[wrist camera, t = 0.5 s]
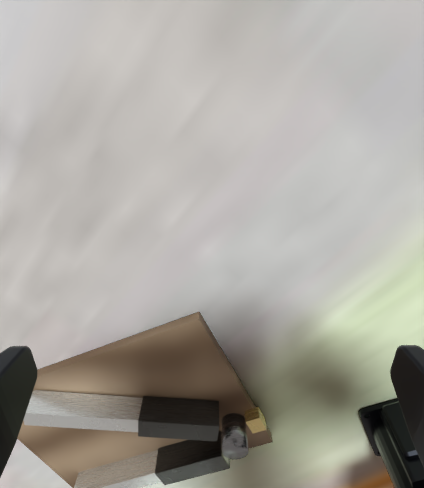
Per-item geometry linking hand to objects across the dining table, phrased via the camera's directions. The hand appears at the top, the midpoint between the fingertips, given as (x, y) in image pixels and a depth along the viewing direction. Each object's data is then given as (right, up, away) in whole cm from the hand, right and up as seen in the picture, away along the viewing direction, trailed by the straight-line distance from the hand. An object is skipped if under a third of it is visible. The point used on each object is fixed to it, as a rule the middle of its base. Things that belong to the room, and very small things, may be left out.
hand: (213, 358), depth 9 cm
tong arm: (-7, -10, +20) cm, 23 cm away
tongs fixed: (-4, -15, +23) cm, 28 cm away
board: (-7, -12, +22) cm, 26 cm away
